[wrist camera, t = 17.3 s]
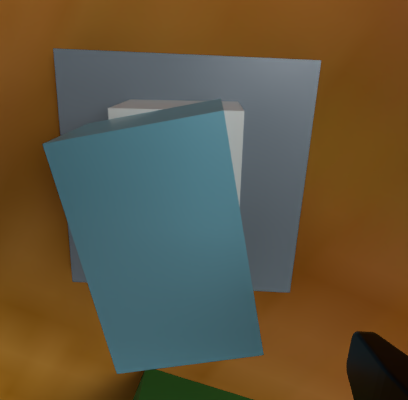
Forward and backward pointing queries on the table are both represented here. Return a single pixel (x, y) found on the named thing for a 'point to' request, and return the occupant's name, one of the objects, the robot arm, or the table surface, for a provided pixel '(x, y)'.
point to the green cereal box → (177, 389)
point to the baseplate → (252, 134)
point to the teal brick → (160, 235)
